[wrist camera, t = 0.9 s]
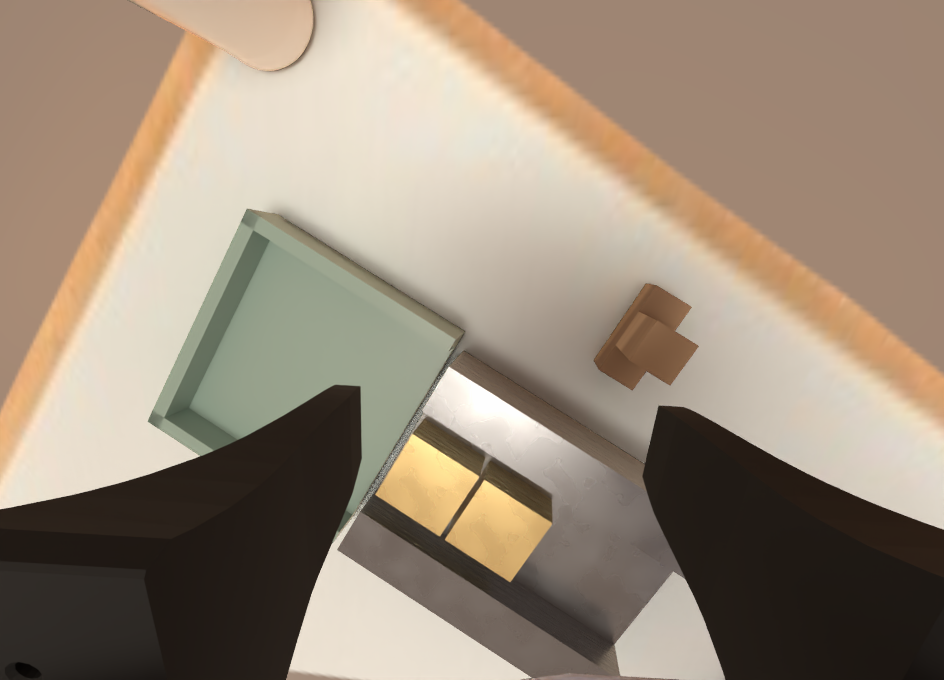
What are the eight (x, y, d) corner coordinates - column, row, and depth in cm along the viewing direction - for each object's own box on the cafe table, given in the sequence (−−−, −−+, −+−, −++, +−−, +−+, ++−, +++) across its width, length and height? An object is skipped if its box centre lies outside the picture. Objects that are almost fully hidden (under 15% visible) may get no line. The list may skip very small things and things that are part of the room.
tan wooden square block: (485, 457, 27) (479, 476, 24) (448, 512, 28) (439, 536, 25) (424, 418, 27) (412, 433, 25) (389, 474, 28) (375, 494, 25)
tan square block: (551, 499, 27) (552, 523, 24) (513, 554, 27) (510, 582, 25) (489, 460, 27) (484, 479, 24) (453, 515, 28) (444, 539, 25)
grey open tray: (703, 500, 27) (733, 545, 23) (584, 650, 30) (591, 716, 26) (463, 350, 28) (448, 366, 24) (366, 508, 31) (337, 549, 26)
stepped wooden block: (678, 303, 26) (721, 315, 20) (624, 379, 27) (649, 414, 21) (646, 283, 26) (678, 289, 20) (593, 360, 27) (609, 389, 21)
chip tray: (465, 331, 28) (455, 339, 25) (353, 516, 31) (332, 542, 28) (277, 214, 29) (247, 208, 26) (184, 406, 31) (147, 421, 28)
